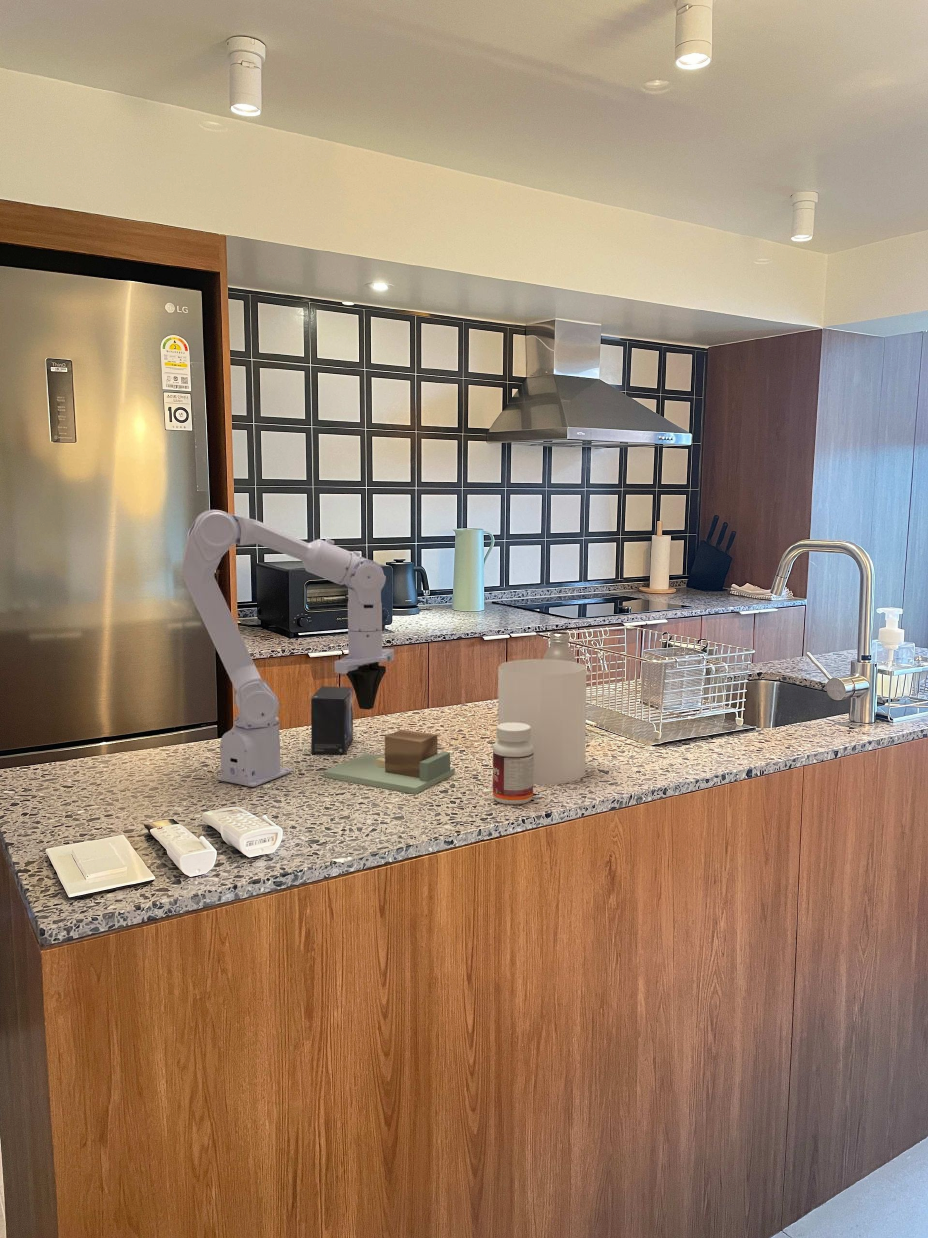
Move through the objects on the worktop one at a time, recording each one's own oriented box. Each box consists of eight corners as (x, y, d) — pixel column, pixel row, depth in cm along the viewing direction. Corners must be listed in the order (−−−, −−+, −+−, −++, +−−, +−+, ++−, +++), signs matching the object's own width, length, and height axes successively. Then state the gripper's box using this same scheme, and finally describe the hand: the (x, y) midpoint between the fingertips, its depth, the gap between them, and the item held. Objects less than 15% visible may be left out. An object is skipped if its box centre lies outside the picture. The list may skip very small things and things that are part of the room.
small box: (346, 755, 158) (345, 697, 156) (310, 755, 158) (308, 697, 156) (355, 739, 168) (354, 685, 167) (321, 739, 168) (319, 685, 167)
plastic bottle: (538, 738, 169) (539, 634, 166) (545, 729, 175) (546, 629, 173) (571, 740, 167) (573, 636, 164) (577, 731, 173) (579, 631, 171)
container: (489, 763, 153) (489, 661, 151) (566, 757, 156) (568, 657, 154) (514, 789, 139) (514, 676, 137) (598, 781, 143) (600, 672, 140)
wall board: (415, 794, 136) (415, 769, 135) (323, 777, 145) (322, 753, 144) (454, 773, 146) (454, 750, 146) (366, 758, 155) (365, 736, 155)
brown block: (421, 778, 141) (421, 742, 140) (385, 772, 144) (384, 736, 143) (437, 770, 145) (437, 734, 144) (402, 764, 148) (401, 729, 147)
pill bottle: (490, 793, 137) (490, 721, 135) (529, 791, 137) (530, 720, 136) (495, 806, 130) (495, 732, 129) (536, 805, 131) (537, 730, 130)
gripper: (358, 636, 141) (360, 720, 142) (408, 626, 153) (409, 702, 155) (323, 633, 144) (325, 715, 146) (375, 623, 157) (376, 698, 158)
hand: (366, 708), depth 151 cm, fingers closed
